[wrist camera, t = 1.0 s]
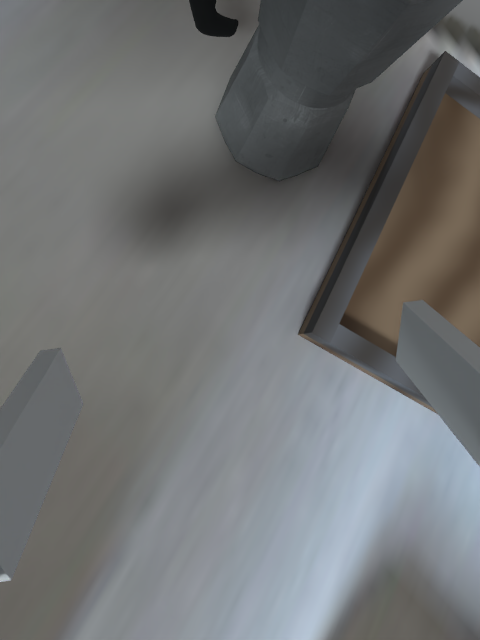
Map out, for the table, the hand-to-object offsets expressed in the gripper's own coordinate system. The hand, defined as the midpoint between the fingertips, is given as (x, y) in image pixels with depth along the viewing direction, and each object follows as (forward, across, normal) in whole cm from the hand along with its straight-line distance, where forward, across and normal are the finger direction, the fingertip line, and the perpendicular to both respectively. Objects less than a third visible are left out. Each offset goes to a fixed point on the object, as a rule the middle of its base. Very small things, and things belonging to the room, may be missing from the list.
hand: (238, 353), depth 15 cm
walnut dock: (+16, +20, -4) cm, 26 cm away
